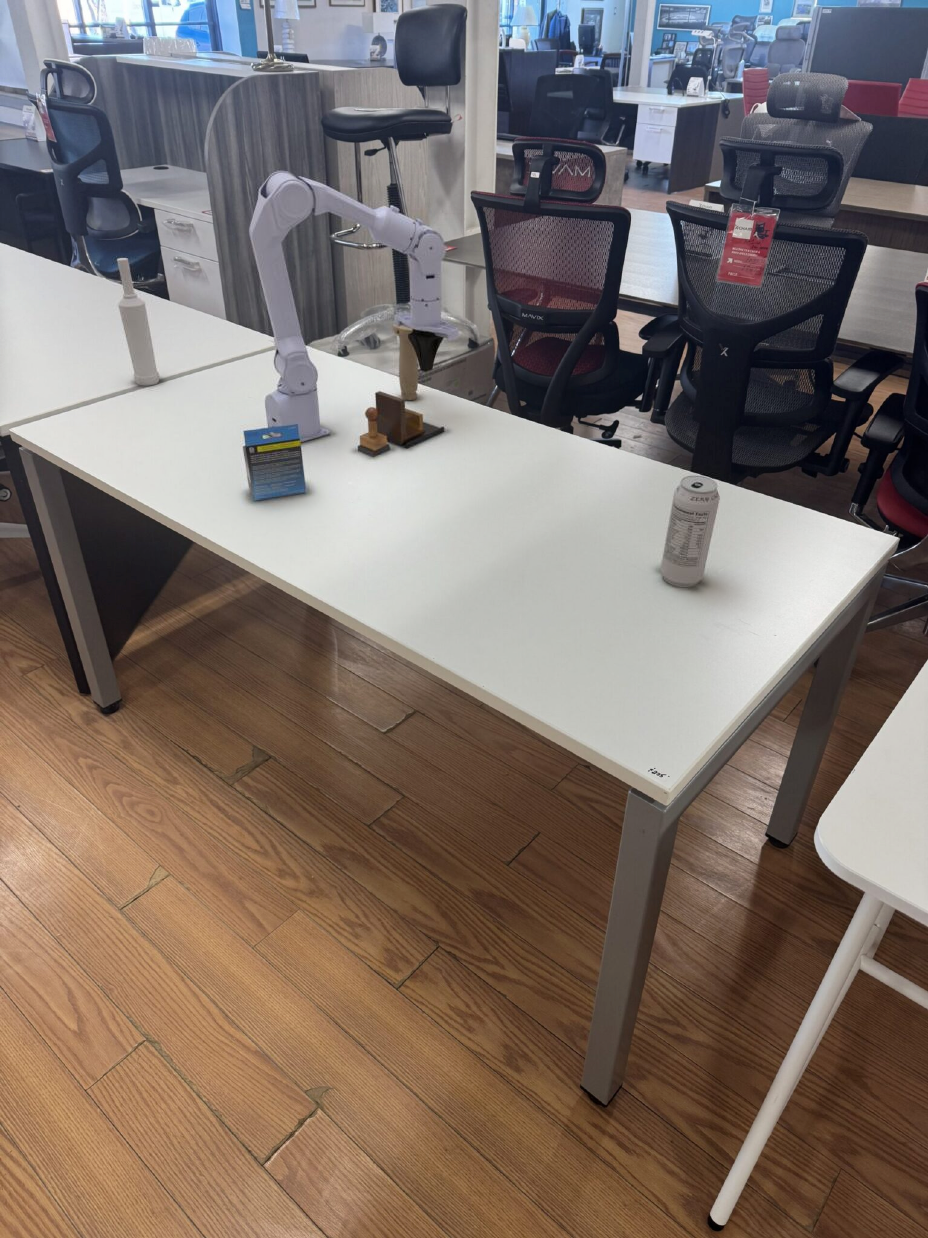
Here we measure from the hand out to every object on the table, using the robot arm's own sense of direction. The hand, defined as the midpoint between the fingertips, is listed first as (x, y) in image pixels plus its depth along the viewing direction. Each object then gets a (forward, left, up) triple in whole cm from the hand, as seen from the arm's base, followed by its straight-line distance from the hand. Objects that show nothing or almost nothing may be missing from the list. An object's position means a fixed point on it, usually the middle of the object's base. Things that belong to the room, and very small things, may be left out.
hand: (426, 369), depth 164 cm
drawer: (-10, -6, -9) cm, 15 cm away
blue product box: (-40, -11, -10) cm, 43 cm away
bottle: (-36, +52, -10) cm, 64 cm away
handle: (+3, +10, -10) cm, 14 cm away
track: (-8, -5, -9) cm, 13 cm away
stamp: (-15, -6, -8) cm, 18 cm away
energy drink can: (-8, -70, -10) cm, 71 cm away
